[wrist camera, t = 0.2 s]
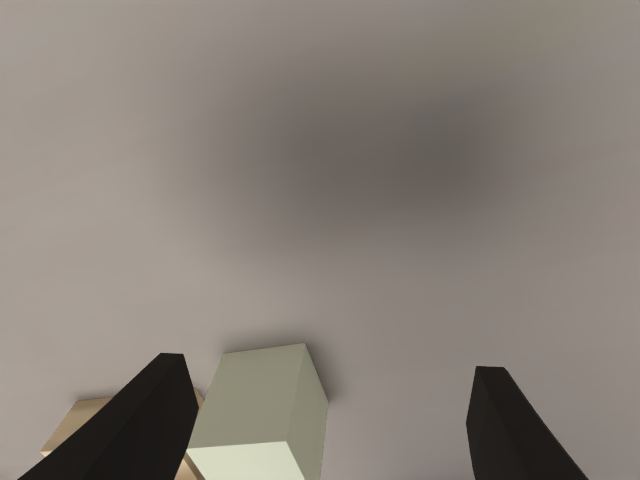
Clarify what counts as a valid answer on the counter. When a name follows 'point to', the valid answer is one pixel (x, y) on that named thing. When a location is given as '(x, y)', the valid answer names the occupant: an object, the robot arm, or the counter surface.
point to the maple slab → (83, 410)
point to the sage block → (262, 418)
